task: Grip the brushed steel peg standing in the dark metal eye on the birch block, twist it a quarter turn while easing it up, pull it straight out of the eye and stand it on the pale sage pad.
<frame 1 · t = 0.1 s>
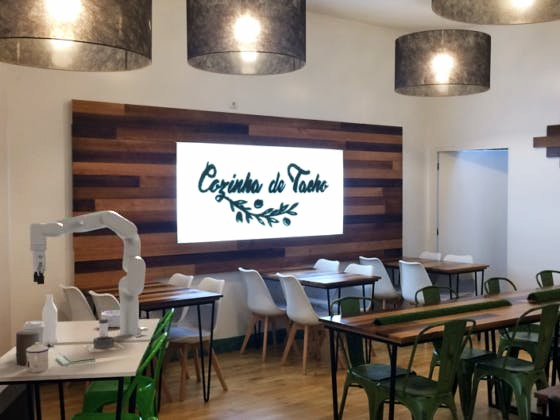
hand: (38, 282, 315), 31 cm above the table, tool pointing down, fingers open, 9 cm apart
pillar candle: (28, 363, 285), on the table
steel peg: (103, 346, 308), point 1 cm above the table, touching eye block
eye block: (103, 350, 308), on the table
teacup with lid: (37, 371, 272), on the table
sage pad: (75, 360, 289), on the table
paper bowls: (115, 326, 365), on the table
water bottle: (50, 345, 318), on the table
coffee cup: (34, 355, 300), on the table
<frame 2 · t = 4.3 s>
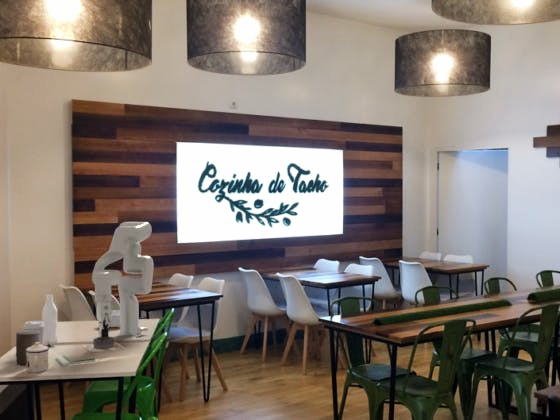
hand: (103, 335, 308), 7 cm above the table, tool pointing down, fingers closed on steel peg, 4 cm apart
steel peg: (103, 346, 308), point 2 cm above the table, touching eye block, gripper
everything else where it was.
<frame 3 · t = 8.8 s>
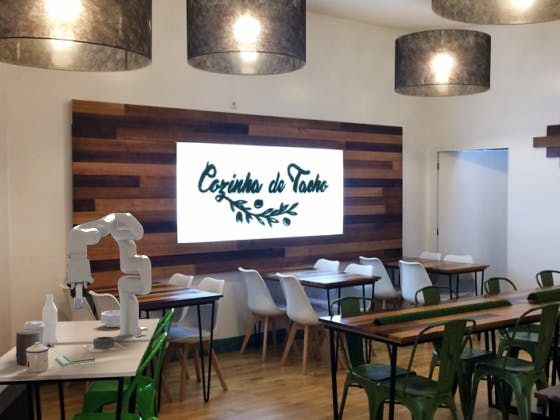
hand: (78, 296, 290), 28 cm above the table, tool pointing down, fingers closed on steel peg, 4 cm apart
steel peg: (78, 308, 290), point 23 cm above the table, touching gripper
everything else where it was.
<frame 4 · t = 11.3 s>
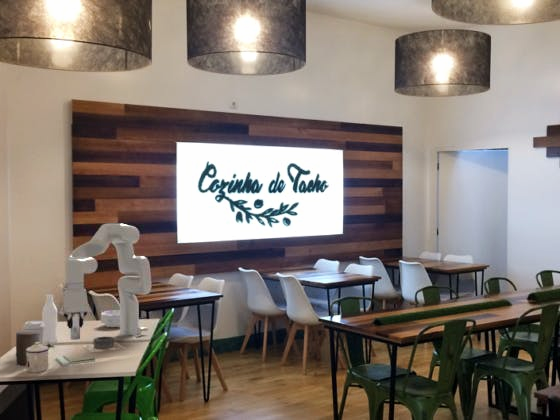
hand: (75, 327, 288), 15 cm above the table, tool pointing down, fingers closed on steel peg, 4 cm apart
steel peg: (75, 338, 288), point 10 cm above the table, touching gripper
everything else where it was.
when the fingers open (8 cm above the table, at t = 13.4 s): steel peg drops 2 cm, resting on sage pad.
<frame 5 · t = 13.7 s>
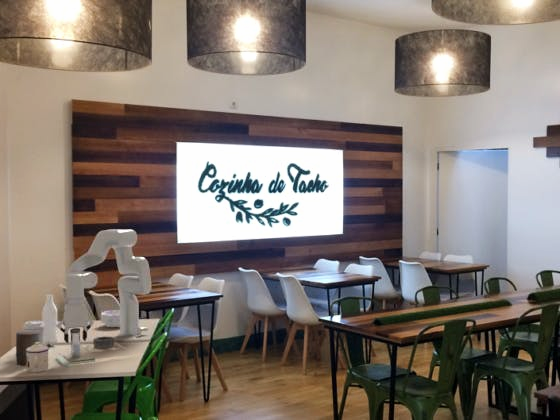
hand: (75, 340, 288), 9 cm above the table, tool pointing down, fingers open, 7 cm apart
steel peg: (76, 357, 289), point 1 cm above the table, touching sage pad
everything else where it was.
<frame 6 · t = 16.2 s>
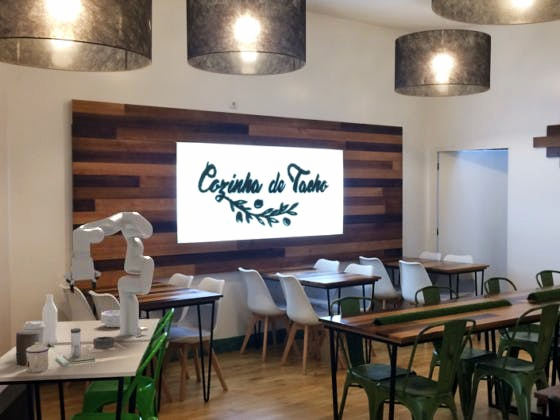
hand: (83, 291, 303), 29 cm above the table, tool pointing down, fingers open, 9 cm apart
nothing on the table moved.
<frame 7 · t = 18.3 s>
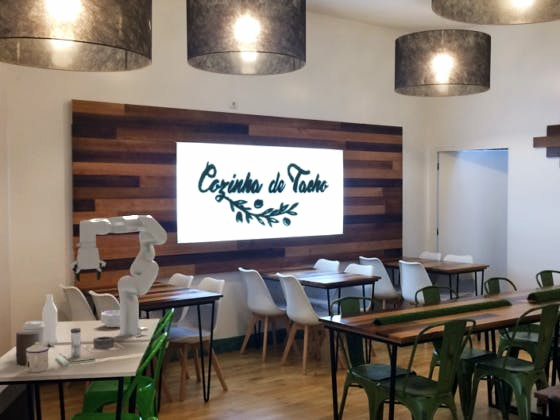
hand: (88, 280, 316), 32 cm above the table, tool pointing down, fingers open, 9 cm apart
nothing on the table moved.
at the end: steel peg inside the target area on the sage pad (0.1 cm from its centre), point 1.0 cm above the sage pad's base; steel peg tilted 0°; the gripper is holding nothing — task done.
